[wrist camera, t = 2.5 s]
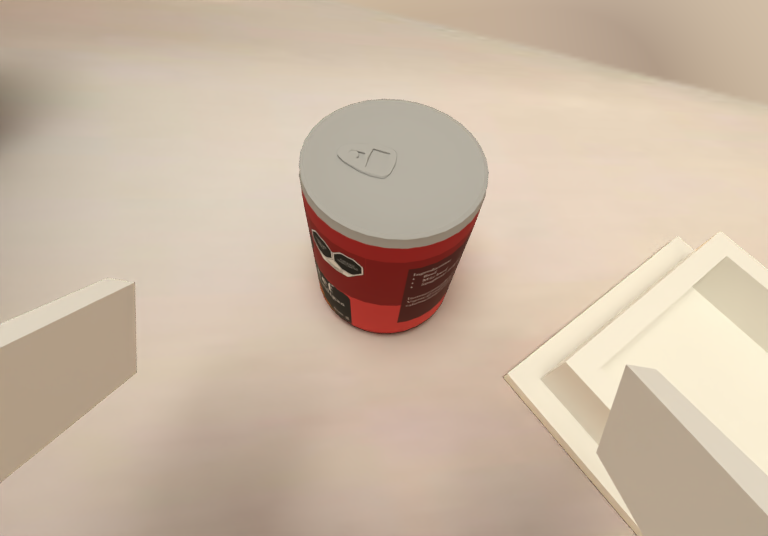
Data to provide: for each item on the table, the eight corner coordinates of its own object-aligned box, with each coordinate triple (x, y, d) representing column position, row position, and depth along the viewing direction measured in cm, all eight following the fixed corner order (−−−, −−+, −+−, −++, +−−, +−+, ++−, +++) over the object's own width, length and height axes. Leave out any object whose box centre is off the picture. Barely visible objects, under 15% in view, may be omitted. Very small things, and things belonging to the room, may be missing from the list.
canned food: (324, 227, 29) (306, 92, 20) (442, 231, 30) (482, 100, 20) (314, 336, 26) (285, 235, 16) (448, 340, 26) (500, 243, 16)
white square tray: (503, 377, 25) (527, 355, 21) (670, 242, 30) (713, 205, 26) (751, 670, 19) (844, 711, 16) (906, 443, 24) (1004, 433, 21)
